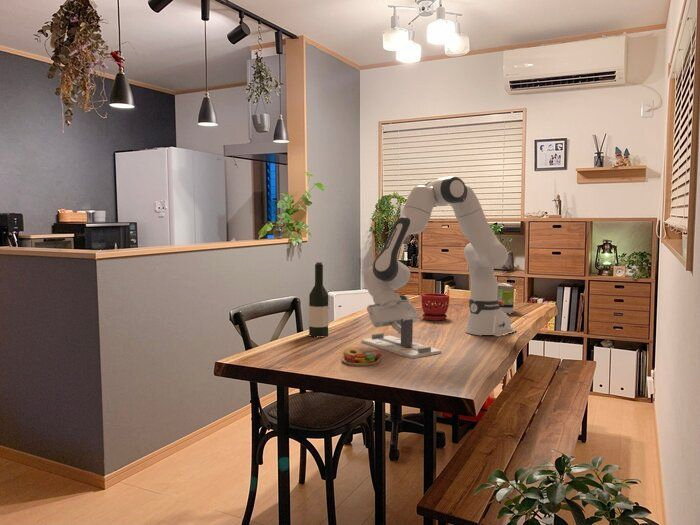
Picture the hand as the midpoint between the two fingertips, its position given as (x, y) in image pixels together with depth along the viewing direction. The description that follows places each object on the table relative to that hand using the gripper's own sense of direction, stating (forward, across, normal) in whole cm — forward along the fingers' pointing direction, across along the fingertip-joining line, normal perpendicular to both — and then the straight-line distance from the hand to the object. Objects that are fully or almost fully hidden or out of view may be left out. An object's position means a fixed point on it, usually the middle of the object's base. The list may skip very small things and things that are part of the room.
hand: (403, 332), depth 208 cm
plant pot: (-23, +52, +32) cm, 65 cm away
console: (+3, 0, +5) cm, 6 cm away
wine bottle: (-21, -15, +30) cm, 39 cm away
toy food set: (+10, -24, -1) cm, 26 cm away
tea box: (-21, +95, +30) cm, 102 cm away
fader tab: (+5, 0, +2) cm, 5 cm away
